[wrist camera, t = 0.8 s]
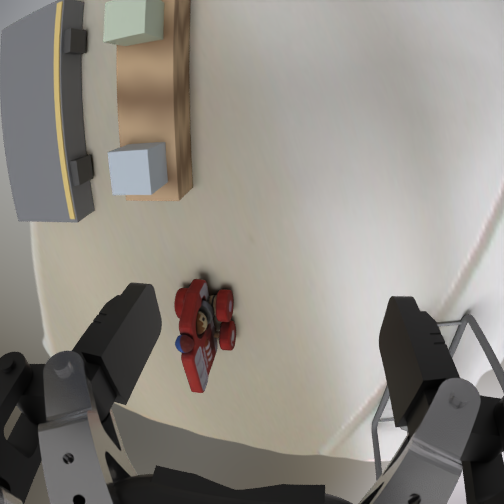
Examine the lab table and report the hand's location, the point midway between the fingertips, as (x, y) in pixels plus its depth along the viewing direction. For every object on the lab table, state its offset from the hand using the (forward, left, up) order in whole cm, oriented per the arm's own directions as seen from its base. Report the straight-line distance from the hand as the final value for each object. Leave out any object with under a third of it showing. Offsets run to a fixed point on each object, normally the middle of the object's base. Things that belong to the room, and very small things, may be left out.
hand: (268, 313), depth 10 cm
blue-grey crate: (-1, -13, -20) cm, 24 cm away
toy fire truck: (+20, -9, -25) cm, 33 cm away
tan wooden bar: (-8, -13, -25) cm, 29 cm away
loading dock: (-8, -30, -24) cm, 39 cm away
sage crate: (-15, -13, -20) cm, 28 cm away
